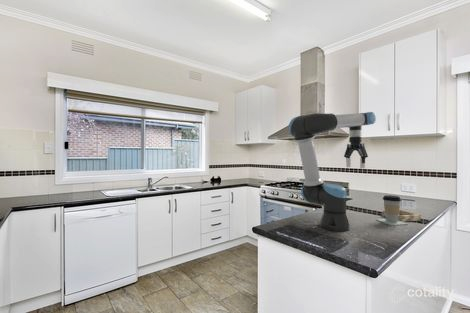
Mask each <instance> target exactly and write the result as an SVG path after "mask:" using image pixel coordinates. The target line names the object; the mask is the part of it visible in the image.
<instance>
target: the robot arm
mask: <svg viewBox="0 0 470 313" xmlns="http://www.w3.org/2000/svg"><path fill="white" fill-rule="evenodd" d="M376 121H377V114H376V113H375V112H373V111H367V112H362V113H361V112H359V113H357V112H356V113H344V114H334V113H330V112H329V113H320V112H319V113H315V112H314V113H310V114H305V115H298V116H295V117H293V118H292V119H291V120H290V122H289V123H288V133H289V134H290V135H291V136H292V137H294V141H295V142H296V143H297V145H298V149H299V154H300V160H301V161H300V162H301V165H302V170H303V175H304V182H303V185H302V187H301V190H300V191H301V192H300V193H301V197H302V199H303V200H304V201H305V202H307V203H310V204H312V205H318V206H322V207H323V212H322V213H323V214H322V215H321V219H320V221H319V222H320V223H319V226H320V227H321V228H322V229H325V230H328V231H331V232H332V231H333V232H347V231H350V222H349V219H348V216H347V197H348V196H347V189H346V188H345V187H344V186H342V185H338V184H332V183H325V184H324V180H323V179H322V178H321V177H320V171H319V166H318V160H317V154H316V151H315V150H316V149H315V142H314V140H315V138H316V135H319V134H323V133H326V132H332V131H334V130H335V129H336V130H337V129H341V128H343V129H344V128H349V130H348V131H349V132H348V133H349V134H348V136H349V138H348V139H349V141H348V142H349V143H350V144H349V143H348V144H347V145H346V149H345V152H344V154H343V157H344V158H345V159H346V161H345V162H346V165H345V167H346V168H351V167H352V166H351V164H352V163H351V161H352V160H351V156H352V155H353V153H354V151H357V153H358V155H359V156H360V159H359V160H360V162H359V169H366V165H365V164H366V158H369V154H368V152H367V150H366V147H365V143H362V140H363V138H362V134H363V133H362V130H363V129H362V127H363V126H369V125H370V126H371V125H374V124H375V123H376Z"/></svg>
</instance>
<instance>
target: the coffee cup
mask: <svg viewBox="0 0 470 313" xmlns="http://www.w3.org/2000/svg"><path fill="white" fill-rule="evenodd" d="M382 200H383V208H384V211H385V216H386V217H385V216H384V217H385V219H386V221H388V222H393V223H397V222H398V214H399V210H400V208H401V207H400V206H401V202H402V199H401V198H400V196H398V195H397V196H396V195H391V194H390V195H383V197H382Z"/></svg>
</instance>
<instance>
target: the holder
mask: <svg viewBox="0 0 470 313" xmlns="http://www.w3.org/2000/svg"><path fill="white" fill-rule="evenodd" d="M382 216H383V217H385V218H386V216H385V210H383V211H382ZM421 217H422V216H421V214H418V213H415V212H410V211H407V210H402V209H399V214H398V221H401V222H405V223H407V222H420V221H422V220H421V219H422V218H421Z"/></svg>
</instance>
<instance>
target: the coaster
mask: <svg viewBox="0 0 470 313" xmlns="http://www.w3.org/2000/svg"><path fill="white" fill-rule="evenodd" d="M376 221H377V222H380V223H383V224H387V225H389V226H392V227H393V226H394V227H395V226H405V225H407V226H408V224H409V223H407V222H401V221H398V222H397V223H393V222H388V221H386V218H378V219H376Z"/></svg>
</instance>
